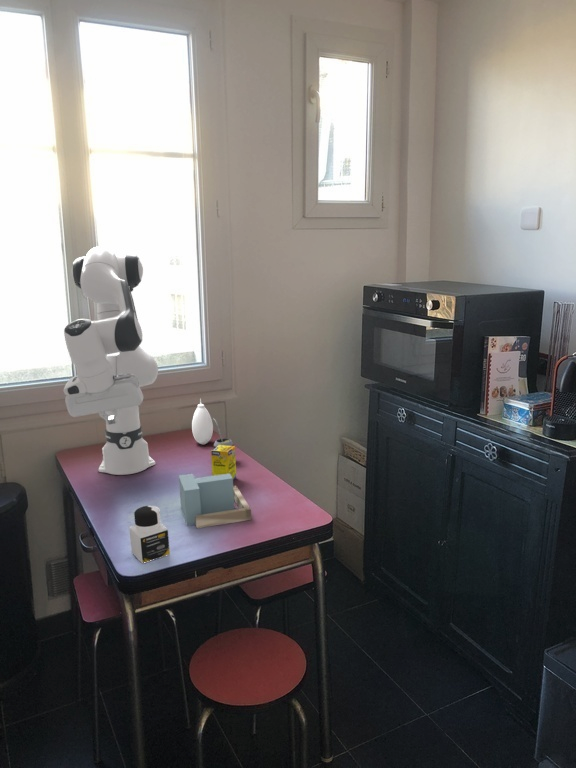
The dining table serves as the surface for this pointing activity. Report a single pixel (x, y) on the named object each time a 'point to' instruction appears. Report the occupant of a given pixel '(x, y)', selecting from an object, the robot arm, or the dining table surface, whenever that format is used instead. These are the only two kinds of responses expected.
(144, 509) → the medicine bottle
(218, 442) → the mate gourd
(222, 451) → the supplement box
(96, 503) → the dining table surface
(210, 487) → the blue block with tab
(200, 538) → the dining table surface
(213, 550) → the dining table surface
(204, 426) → the white bulb air blower
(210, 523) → the frame
